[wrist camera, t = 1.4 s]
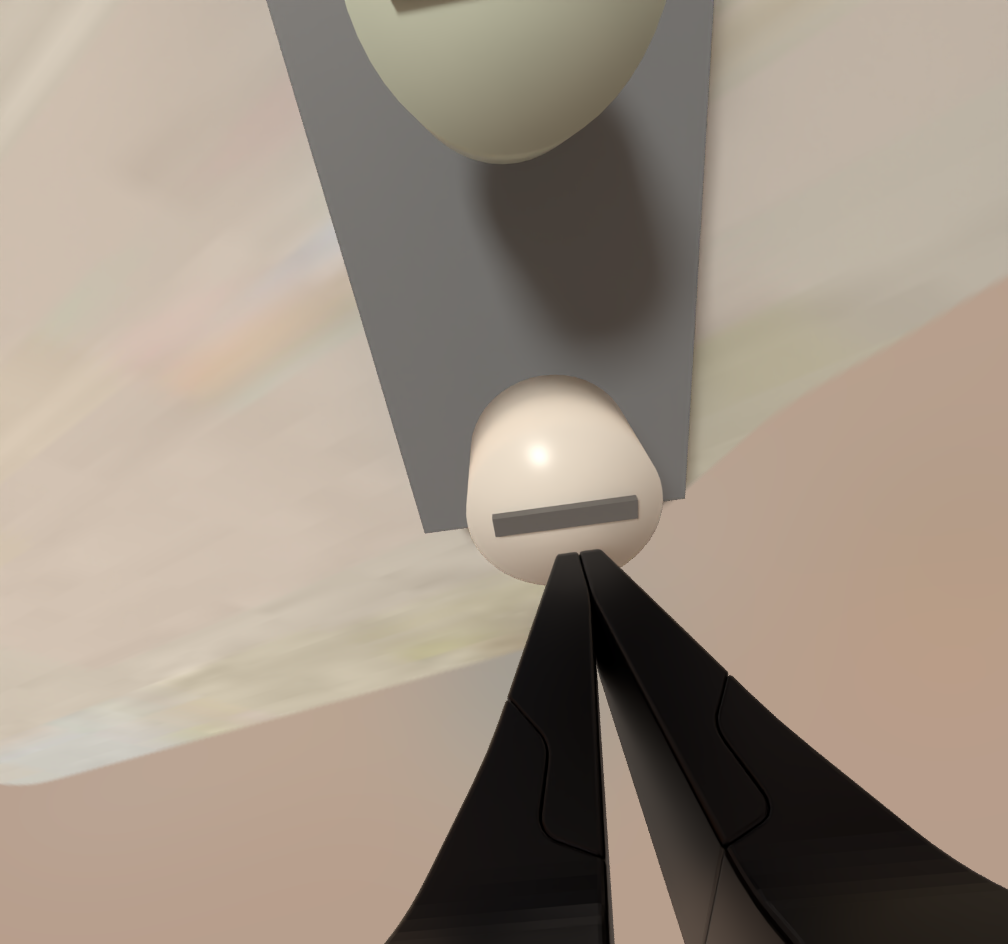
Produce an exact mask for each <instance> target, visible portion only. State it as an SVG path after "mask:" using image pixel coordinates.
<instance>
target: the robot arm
mask: <svg viewBox="0 0 1008 944" xmlns="http://www.w3.org/2000/svg"><path fill="white" fill-rule="evenodd" d="M596 664H597V667H596ZM597 669H598V672H599V676H600V679H601V683H602V685H603V689H604V692H605V695H606V698H607V701H608V705H609V708H610V711H611V714H612V717H613V720H614V723H615V727H616V730H617V733H618V736H619V739H620V742H621V745H622V748H623V752H624V755H625V758H626V761H627V764H628V767H629V770H630V773H631V777H632V780H633V783H634V786H635V789H636V792H637V795H638V799H639V802H640V805H641V808H642V811H643V814H644V817H645V821H646V824H647V826H648V830H649V833H650V836H651V839H652V843H653V846H654V849H655V852H656V855H657V858H658V861H659V865H660V868H661V871H662V874H663V877H664V880H665V883H666V886H667V890H668V893H669V896H670V899H671V902H672V905H673V908H674V911H675V914H676V918H677V920H678V924H679V927H680V930H681V933H682V937H683V939H684V943H685V944H1008V889H1006V888H1004V887H1002V886H1000V885H998V884H996V883H994V882H992V881H990V880H989V879H987V878H985V877H983V876H982V875H979V874H978V873H976V872H974V871H972V870H971V869H969V868H968V867H966V866H965V865H963V864H961V863H960V862H958V861H957V860H955V859H953V858H952V857H951V856H949V855H948V854H946V853H945V852H943V851H942V850H940V849H939V848H938V847H936V846H935V845H933V844H932V843H931V842H929V841H928V840H927V839H925V838H924V837H923V836H921V835H920V834H919V833H918V832H916V831H915V830H914V829H912V828H911V827H910V826H909V825H907V824H906V823H905V822H904V821H902V820H901V819H900V818H898V816H896V815H895V814H894V813H893V812H891V811H890V810H889V809H887V808H886V807H885V806H884V805H883V804H881V803H880V802H879V801H878V800H876V799H875V798H874V797H873V796H871V795H870V794H869V793H868V792H866V791H865V790H864V789H863V788H861V787H860V786H859V785H858V784H857V783H855V782H854V781H853V780H851V779H850V778H849V777H848V776H847V775H845V774H844V773H843V772H841V771H840V770H839V769H838V768H837V767H835V766H834V765H833V764H832V763H830V762H829V761H828V760H827V759H825V758H824V757H823V756H822V755H820V754H819V753H818V752H817V751H816V750H814V749H813V748H812V747H811V746H809V745H808V744H807V743H806V742H805V741H804V740H802V739H801V738H800V737H798V735H796V734H795V733H794V732H793V731H792V730H790V729H789V728H788V727H787V726H786V725H784V724H783V723H782V722H781V721H780V720H778V719H777V718H776V717H775V716H774V715H773V714H772V713H771V712H770V711H769V710H767V708H765V707H764V706H763V705H762V704H761V703H760V702H759V701H758V700H757V699H755V697H754V696H752V695H751V694H750V693H749V692H748V691H747V690H746V689H745V688H744V687H743V686H742V685H741V684H740V683H739V682H738V681H737V680H736V679H735V678H734V677H733V676H731V675H729V676H728V672H727V671H726V670H725V669H724V668H723V667H722V666H721V665H720V664H719V663H718V662H717V661H716V660H715V659H714V658H713V657H712V656H711V655H710V654H709V653H708V652H707V651H706V650H705V649H704V648H703V647H702V646H700V645H699V644H698V643H697V642H696V641H695V640H694V639H693V638H692V637H691V636H690V635H689V634H688V633H687V632H686V631H685V630H684V629H683V628H682V627H681V626H680V625H679V624H678V623H676V621H674V619H673V618H672V617H671V616H670V615H668V614H667V613H666V612H665V611H664V610H663V609H662V608H661V607H660V606H659V605H658V604H657V603H656V602H655V601H654V600H653V599H652V598H651V597H650V596H649V595H648V594H647V593H646V592H645V591H644V590H643V589H642V588H641V587H639V586H638V585H637V584H636V583H635V582H634V581H633V580H632V579H631V578H630V577H629V576H628V575H627V574H626V573H625V572H624V571H623V570H622V569H621V568H620V567H619V566H618V565H617V564H616V563H615V562H614V561H613V560H612V559H611V558H610V557H608V556H607V555H606V554H605V553H604V552H603V551H602V550H600V549H593V550H585V551H581V552H580V554H578V553H577V552H570V553H562V554H558V555H557V556H556V558H555V561H554V564H553V567H552V569H551V572H550V575H549V578H548V581H547V584H546V587H545V590H544V593H543V595H542V598H541V601H540V604H539V607H538V610H537V613H536V616H535V619H534V622H533V624H532V627H531V630H530V633H529V636H528V639H527V642H526V645H525V648H524V650H523V653H522V656H521V659H520V662H519V665H518V668H517V671H516V674H515V677H514V679H513V682H512V685H511V688H510V691H509V694H508V700H507V701H506V702H505V705H504V708H503V711H502V714H501V716H500V719H499V722H498V725H497V727H496V730H495V732H494V735H493V738H492V740H491V743H490V745H489V748H488V751H487V753H486V755H485V757H484V760H483V762H482V764H481V766H480V769H479V771H478V773H477V775H476V777H475V779H474V782H473V784H472V786H471V788H470V790H469V792H468V794H467V796H466V798H465V800H464V802H463V804H462V806H461V808H460V810H459V812H458V815H457V817H456V819H455V821H454V823H453V825H452V827H451V829H450V831H449V833H448V835H447V837H446V839H445V841H444V843H443V845H442V847H441V849H440V851H439V853H438V855H437V857H436V859H435V861H434V863H433V865H432V867H431V869H430V871H429V873H428V875H427V877H426V879H425V881H424V883H423V885H422V887H421V889H420V891H419V893H418V894H417V896H416V898H415V900H414V901H413V903H412V905H411V907H410V908H409V910H408V911H407V913H406V914H405V916H404V918H403V919H402V921H401V922H400V924H399V925H398V927H397V928H396V929H395V931H394V932H393V933H392V935H391V936H390V937H389V938H388V940H387V941H386V943H385V944H615V943H614V929H613V913H612V898H611V883H610V866H609V850H608V835H607V819H606V804H605V789H604V773H603V757H602V742H601V726H600V712H599V695H598V680H597Z"/></svg>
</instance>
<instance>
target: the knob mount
mask: <svg viewBox="0 0 1008 944" xmlns="http://www.w3.org/2000/svg"><path fill="white" fill-rule="evenodd" d="M266 1H267V4H268V8H269V11H270V14H271V18H272V21H273V24H274V28H275V31H276V35H277V38H278V41H279V45H280V48H281V51H282V55H283V58H284V61H285V65H286V68H287V72H288V75H289V78H290V82H291V85H292V88H293V92H294V95H295V98H296V102H297V105H298V108H299V112H300V115H301V119H302V122H303V125H304V129H305V132H306V135H307V139H308V142H309V145H310V149H311V152H312V156H313V159H314V162H315V166H316V169H317V172H318V176H319V179H320V182H321V186H322V189H323V192H324V196H325V199H326V203H327V206H328V209H329V213H330V216H331V219H332V223H333V226H334V229H335V233H336V236H337V240H338V243H339V246H340V250H341V253H342V256H343V260H344V263H345V266H346V270H347V273H348V277H349V280H350V283H351V287H352V290H353V293H354V297H355V300H356V303H357V307H358V310H359V313H360V317H361V320H362V324H363V327H364V330H365V334H366V337H367V340H368V344H369V347H370V350H371V354H372V357H373V361H374V364H375V367H376V371H377V374H378V377H379V381H380V384H381V387H382V391H383V394H384V397H385V401H386V404H387V408H388V411H389V414H390V418H391V421H392V424H393V428H394V431H395V434H396V438H397V441H398V445H399V448H400V451H401V455H402V458H403V461H404V465H405V468H406V471H407V475H408V478H409V482H410V485H411V488H412V492H413V495H414V498H415V502H416V505H417V508H418V512H419V515H420V518H421V522H422V525H423V529H424V532H425V533H432V532H439V531H447V530H454V529H462V528H468V524H467V518H466V504H467V491H468V478H469V466H470V453H471V442H472V436H473V432H474V429H475V426H476V423H477V421H478V419H479V417H480V415H481V414H482V412H483V411H484V409H485V408H486V407H487V406H488V404H489V403H490V402H491V401H492V400H493V399H494V398H495V397H496V396H498V395H499V394H500V393H501V392H503V391H504V390H506V389H507V388H509V387H510V386H512V385H514V384H516V383H518V382H521V381H523V380H526V379H529V378H533V377H538V376H543V375H566V376H572V377H576V378H580V379H583V380H586V381H588V382H590V383H592V384H594V385H596V386H598V387H599V388H601V389H602V390H604V391H605V392H606V393H607V394H608V395H609V396H610V397H611V398H612V399H613V400H614V401H615V402H616V404H617V405H618V407H619V408H620V410H621V411H622V413H623V415H624V416H625V418H626V420H627V421H628V423H629V425H630V426H631V428H632V430H633V431H634V433H635V435H636V437H637V438H638V440H639V442H640V443H641V445H642V447H643V448H644V450H645V452H646V453H647V455H648V457H649V458H650V460H651V462H652V463H653V465H654V467H655V468H656V470H657V473H658V475H659V478H660V481H661V486H662V492H663V501H670V500H677V499H684V498H685V488H686V470H687V453H688V436H689V419H690V402H691V384H692V367H693V350H694V333H695V316H696V298H697V281H698V264H699V247H700V230H701V212H702V195H703V178H704V161H705V144H706V126H707V109H708V92H709V75H710V58H711V40H712V23H713V6H714V0H666V3H665V6H664V9H663V12H662V14H661V17H660V20H659V23H658V25H657V28H656V31H655V33H654V35H653V38H652V40H651V42H650V44H649V46H648V48H647V50H646V52H645V54H644V57H643V58H642V60H641V62H640V63H639V65H638V67H637V68H636V70H635V71H634V73H633V75H632V76H631V78H630V80H629V81H628V82H627V84H626V85H625V86H624V87H623V89H622V90H621V91H620V93H619V94H618V95H617V97H616V98H615V99H614V100H613V101H612V102H611V103H610V104H609V105H608V106H607V107H606V108H605V109H604V110H603V112H602V113H601V114H600V115H599V116H597V117H596V118H595V119H594V120H592V121H591V122H590V123H589V124H587V125H586V126H585V127H584V128H582V129H581V130H580V131H578V132H577V133H575V134H574V135H572V136H571V137H570V138H568V139H567V140H565V141H564V142H562V143H561V144H560V145H558V146H557V147H555V148H553V149H552V150H550V151H548V152H547V153H545V154H543V155H541V156H538V157H536V158H533V159H531V160H527V161H523V162H519V163H512V164H490V163H485V162H480V161H476V160H473V159H471V158H468V157H465V156H463V155H461V154H459V153H457V152H455V151H454V150H452V149H450V148H448V147H447V146H446V145H444V144H443V143H442V142H440V141H439V140H438V139H436V138H435V137H434V136H433V135H432V134H431V133H430V132H429V131H428V130H427V129H426V128H425V127H424V126H423V125H422V124H421V123H420V122H419V121H418V120H417V119H416V118H415V117H414V116H413V115H412V114H411V113H410V112H409V111H408V110H407V109H406V108H405V107H404V106H403V105H402V104H401V103H400V102H399V101H398V100H397V98H396V97H395V96H394V95H393V93H392V92H391V91H390V90H389V89H388V87H387V86H386V85H385V84H384V82H383V81H382V79H381V77H380V76H379V74H378V73H377V71H376V70H375V68H374V67H373V65H372V63H371V62H370V60H369V58H368V56H367V54H366V52H365V50H364V48H363V46H362V44H361V42H360V40H359V38H358V36H357V34H356V31H355V29H354V26H353V23H352V21H351V18H350V16H349V13H348V11H347V7H346V4H345V0H266Z"/></svg>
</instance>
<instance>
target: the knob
mask: <svg viewBox="0 0 1008 944" xmlns="http://www.w3.org/2000/svg"><path fill="white" fill-rule="evenodd" d="M662 504H663V492H662V486H661V481H660V478H659V475H658V473H657V470H656V468H655V467H654V465H653V463H652V462H651V460H650V458H649V457H648V455H647V453H646V452H645V450H644V448H643V447H642V445H641V443H640V442H639V440H638V438H637V437H636V435H635V433H634V431H633V430H632V428H631V426H630V425H629V423H628V421H627V420H626V418H625V416H624V415H623V413H622V411H621V410H620V408H619V407H618V405H617V404H616V402H615V401H614V400H613V399H612V398H611V397H610V396H609V395H608V394H607V393H606V392H605V391H604V390H602V389H601V388H599V387H598V386H596V385H594V384H592V383H590V382H588V381H586V380H583V379H580V378H576V377H572V376H566V375H543V376H538V377H533V378H529V379H526V380H523V381H521V382H518V383H516V384H514V385H512V386H510V387H509V388H507V389H506V390H504V391H503V392H501V393H500V394H499V395H498V396H496V397H495V398H494V399H493V400H492V401H491V402H490V403H489V404H488V406H487V407H486V408H485V409H484V411H483V412H482V414H481V415H480V417H479V419H478V421H477V423H476V426H475V429H474V432H473V436H472V442H471V453H470V466H469V478H468V491H467V504H466V518H467V524H468V529H469V532H470V535H471V537H472V539H473V541H474V543H475V545H476V547H477V548H478V550H479V551H480V553H481V554H482V555H483V556H484V557H485V558H486V559H487V560H488V561H489V562H490V563H491V564H492V565H494V566H495V567H496V568H498V569H499V570H501V571H502V572H504V573H506V574H508V575H510V576H512V577H514V578H516V579H519V580H522V581H525V582H529V583H534V584H540V585H546V584H547V581H548V578H549V575H550V572H551V569H552V567H553V564H554V561H555V558H556V556H557V555H558V554H562V553H570V552H577V553H578V554H580V552H581V551H585V550H593V549H600V550H602V551H603V552H604V553H605V554H606V555H607V556H608V557H610V558H611V559H612V560H613V561H614V562H615V563H616V564H617V565H618V566H619V567H622V566H623V565H625V564H626V563H628V562H629V561H630V560H631V559H633V558H634V557H635V556H636V555H637V554H638V553H639V552H640V551H641V550H642V549H643V547H644V546H645V545H646V544H647V542H648V541H649V540H650V538H651V537H652V535H653V533H654V532H655V529H656V527H657V524H658V522H659V519H660V516H661V512H662Z"/></svg>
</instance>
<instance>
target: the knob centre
mask: <svg viewBox="0 0 1008 944" xmlns="http://www.w3.org/2000/svg"><path fill="white" fill-rule="evenodd" d="M665 3H666V0H345V4H346V7H347V11H348V13H349V16H350V18H351V21H352V23H353V26H354V29H355V31H356V34H357V36H358V38H359V40H360V42H361V44H362V46H363V48H364V50H365V52H366V54H367V56H368V58H369V60H370V62H371V63H372V65H373V67H374V68H375V70H376V71H377V73H378V74H379V76H380V77H381V79H382V81H383V82H384V84H385V85H386V86H387V87H388V89H389V90H390V91H391V92H392V93H393V95H394V96H395V97H396V98H397V100H398V101H399V102H400V103H401V104H402V105H403V106H404V107H405V108H406V109H407V110H408V111H409V112H410V113H411V114H412V115H413V116H414V117H415V118H416V119H417V120H418V121H419V122H420V123H421V124H422V125H423V126H424V127H425V128H426V129H427V130H428V131H429V132H430V133H431V134H432V135H433V136H434V137H435V138H436V139H438V140H439V141H440V142H442V143H443V144H444V145H446V146H447V147H448V148H450V149H452V150H454V151H455V152H457V153H459V154H461V155H463V156H465V157H468V158H471V159H473V160H476V161H480V162H485V163H490V164H512V163H519V162H523V161H527V160H531V159H533V158H536V157H538V156H541V155H543V154H545V153H547V152H548V151H550V150H552V149H553V148H555V147H557V146H558V145H560V144H561V143H562V142H564V141H565V140H567V139H568V138H570V137H571V136H572V135H574V134H575V133H577V132H578V131H580V130H581V129H582V128H584V127H585V126H586V125H587V124H589V123H590V122H591V121H592V120H594V119H595V118H596V117H597V116H599V115H600V114H601V113H602V112H603V110H604V109H605V108H606V107H607V106H608V105H609V104H610V103H611V102H612V101H613V100H614V99H615V98H616V97H617V95H618V94H619V93H620V91H621V90H622V89H623V87H624V86H625V85H626V84H627V82H628V81H629V80H630V78H631V76H632V75H633V73H634V71H635V70H636V68H637V67H638V65H639V63H640V62H641V60H642V58H643V57H644V54H645V52H646V50H647V48H648V46H649V44H650V42H651V40H652V38H653V35H654V33H655V31H656V28H657V25H658V23H659V20H660V17H661V14H662V12H663V9H664V6H665Z"/></svg>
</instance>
